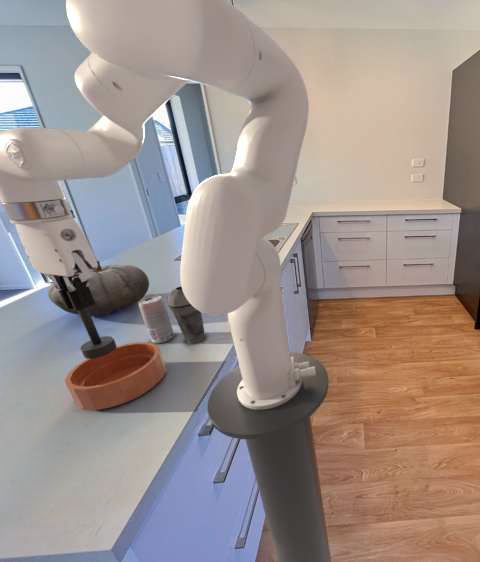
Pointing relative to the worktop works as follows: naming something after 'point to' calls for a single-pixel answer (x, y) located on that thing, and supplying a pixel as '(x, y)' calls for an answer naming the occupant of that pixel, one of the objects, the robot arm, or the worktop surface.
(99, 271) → the gourd
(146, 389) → the bowl
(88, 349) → the grey disc stick
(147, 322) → the energy drink
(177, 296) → the beverage cup
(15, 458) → the worktop surface
